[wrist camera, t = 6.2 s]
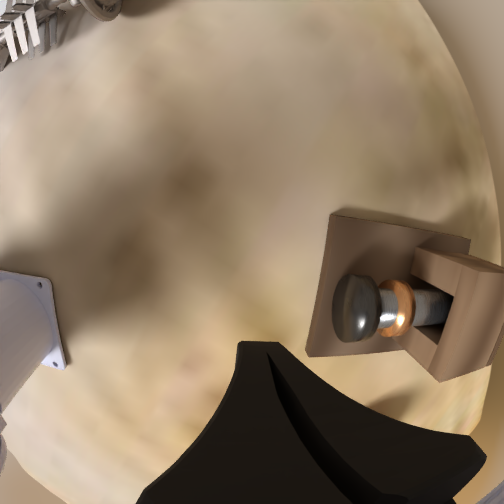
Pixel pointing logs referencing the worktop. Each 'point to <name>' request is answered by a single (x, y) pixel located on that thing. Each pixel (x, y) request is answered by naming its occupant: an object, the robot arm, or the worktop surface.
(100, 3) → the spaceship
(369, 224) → the bearing housing
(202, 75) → the worktop surface
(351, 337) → the shaft
